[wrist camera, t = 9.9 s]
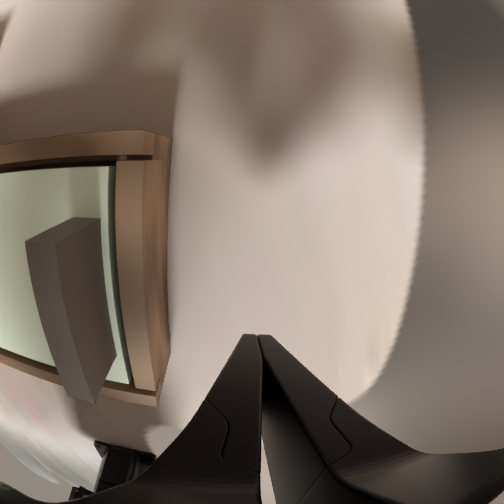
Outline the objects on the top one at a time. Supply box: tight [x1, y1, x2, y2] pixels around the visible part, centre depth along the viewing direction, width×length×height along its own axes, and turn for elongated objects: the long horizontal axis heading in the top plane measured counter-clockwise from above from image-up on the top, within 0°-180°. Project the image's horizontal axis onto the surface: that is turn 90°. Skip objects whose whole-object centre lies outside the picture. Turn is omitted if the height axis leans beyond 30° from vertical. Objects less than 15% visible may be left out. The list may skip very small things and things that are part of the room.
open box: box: [0, 130, 172, 407], centre depth 11 cm, size 12×14×4 cm
